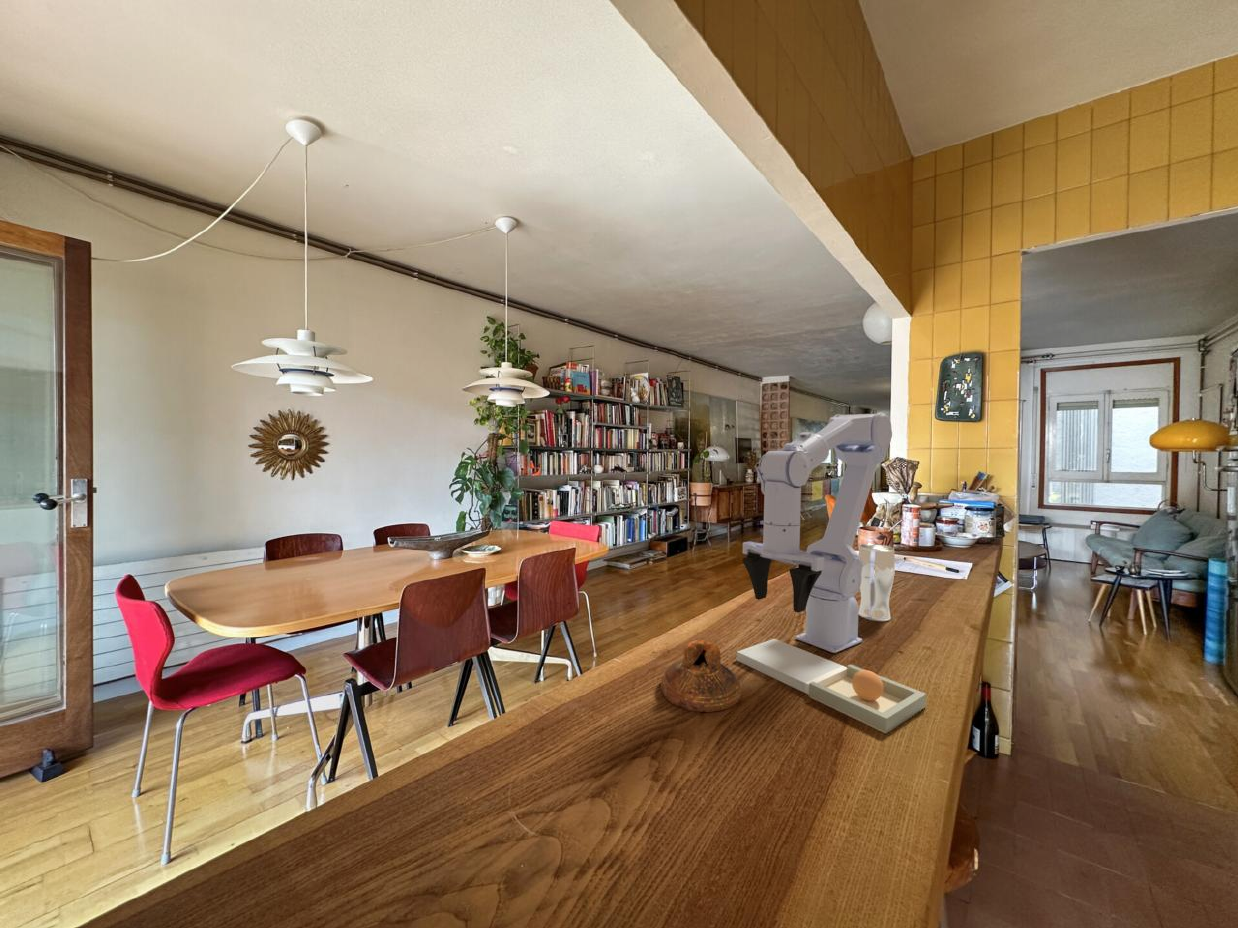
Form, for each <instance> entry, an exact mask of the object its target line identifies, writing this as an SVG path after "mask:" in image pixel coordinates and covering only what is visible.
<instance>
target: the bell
mask: <svg viewBox="0 0 1238 928" xmlns="http://www.w3.org/2000/svg"><path fill="white" fill-rule="evenodd" d="M721 654H722V653H721V651H720V648H719V647H718V646H717V644H714V643H713V642H710V641H708V640H704V639H697V640H696V639H695V640H693V641H690V642H688V643H687V645H686V646H685V648H684V649H683V659H679V660H677V661H675V662H673V664H671V665H670V666H669V667H668V668H666V670H665V672H664V673H663V674H662V677H661V684H660V690H661V692H662V694H663V696H664V697H665V698H666V699H667V701H669V702H670V703H671V704H672V705H674V706H677V707H682V708H683V709H685V710H687V711H691V712H699V713H700V712H702V713H704V712H705V713H712V712H720V711H723V710H727V709H729V708H731V707H733V706H735V705H736V704H737V703H738V702H739V700H740V698H741V696H742V687H741V684H740V681H739V679H738V678H737V676H736V674H735V673H734V672H733V671H732V670H731V669H729V668H728V667H727V666H726V665H724V664H722V663H721V658H722V656H721Z"/></svg>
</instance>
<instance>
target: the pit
mask: <svg viewBox="0 0 1238 928" xmlns="http://www.w3.org/2000/svg"><path fill="white" fill-rule="evenodd" d="M846 667H847V677H845V678H843V679H841V680H838V681H836V682H834V683H832V684H830V685H828V686H826V687H824V686H822V685H820V684H818V683H816V682H811V683H809V695H808V697H809V698H811V699H812V700H814V701H816V702H818V703H821V704H823V705H825V706H827V707H829V708H831V709H832V710H836V712H837V711H838V712H839V713H842V714H843V715H846V716H848V717H850V718H852V719H854V720H856V721H857V722H858V721H859V722H860V723H862V724H865V725H866V726H868V727H870V728H873V729H875V730H877V731H879V732H881V733H883V734H885V735H887V734H889V732H892V731H893V730H894V729H896V728H897V727H899V726H900V725H902V724H903V723H905V722H906V721H908V720H910V719H911V718H912V716H913V717H914V716H916V715H917V714H919V713H920V712H922V711H923V710H925V709H926V708H927V704H926V703H927V693H926V692H923V691H921V690H918V689H914V688H912V687H909V686H907V685H906V684H905V685H904V684H902V683H899V682H897V681H894V680H892V679H889V678H888V677H884V676H881V675H879V674H877V675H878V676H879V678H880V679H881V681H882V683H883V693H882V695H881V696H880V697H879V698H878V699H876V700H873V701H868V700H864V699H862V698H861V697H859V696H858V695H857V694H856V693H855V691H854V689H853V686H852V679H853V677H854V675H855V674H856V673H857V672H859V671H861V670H865V668H864V669H863V668H861V667H860V666H859V667H858V666H856V665H853V664H852V663H851V664H848V665H846ZM924 708H925V709H924ZM922 709H923V710H922ZM921 710H922V711H921ZM919 711H920V712H919ZM918 712H919V713H918ZM915 714H916V715H915ZM909 718H910V719H909Z"/></svg>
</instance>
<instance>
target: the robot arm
mask: <svg viewBox="0 0 1238 928" xmlns="http://www.w3.org/2000/svg"><path fill="white" fill-rule="evenodd" d="M892 429H893V428H892V422H891V419H890V418H889V416H888V415H887V414H886V413H884V412H877V413H864V414H863V413H859V414H841V413H839V414H838V413H837V414H835V415H833V416H831V417H829V420H828V423H827V425H826V426H824V427H823V428H822V429H821V430H820V431H818V432H817V433H813V432H810V431H808V432H807V431H806V432H805V431H803V432H801V433H800V434H798V438H797V439H795V440H793V441H791V442H787V443H785V444H784V445H783V447H781V448H780V449H779V450H768V451H767V452H766V453H764V454H763V455H762V456H761V458H760V459H759V463H758V466H757V467H756V472H757V476H758V477H757V478H758V480H759V482H760V486H761V487H760V489H761V490H760V491H761V493H762V494H763V495H764V496H763V497H764V498H763V499H764V500H763V502H764V503H763V531H762V532H763V538H762V539H763V540H762V541H763V542H756V541H755V542H754V541H744V542H742V554H744V555H746V557H743V558H742V563H743V565H744V567H745V568H746V570H747V573H748V576H749V577H750V581H751V585H752V588H753V592H754V593H753V594H754V598H755V599H756V600H762V599H766V598H767V594H768V585H769V584H768V583H769V582H768V581H769V573H770V567H771V563H772V561H773V560H774V561H777V562H782V563H785V564H790V565H794V566H797V567H794V568H790V569H789V575H790V577H791V578H790V579H791V583H792V589H793V590H792V591H793V597H792V598H793V602H792V603H793V605H792V606H793V612H794V613H797V614H798V613H802V612H805V611H806V613H805V614H806V617H805V620H806V621H805V632H803V633H800V634H797V635H796V636H795V639H796V640H799V641H800V642H804V643H806V644H808V645H809V644H810V645H811V646H814V647H817V648H819V649H823V650H825V651H828V652H830V653H832V654H834V653H835V654H836V653H838V652H840V651H841V652H842V651H843V650H845V649H848V648H850V647H852V646H855V645H857V644H860V643H862V642H863V638H861V637H859V636H858V633H859V614H858V612H859V604H858V601H857V600H856V598H855V596H856V595H857V594H858V592H859V591H860V586H861V580H862V576H861V574H862V568H863V562H862V559H861V558H860V556H859V553H857V552H856V551H855V549H854V548H853V544H854V543H855V538H856V534H857V531H858V529H859V526H860V522H861V519H862V515H863V513H864V510H865V506H866V504H867V500H868V497H869V493H870V490H871V487H872V484H873V481H874V478H875V474H876V471H877V468H878V465H879V464H881V463H883V462H885V459H886V456H887V454H888V451H889V448H890V444H891V441H892V437H893V431H892ZM832 449H834V451H835V454H836V457H837V458H838V460H839V461H841V462H842V463H844V464H846V466H845V467H846V468H845V471H844V474H843V477H842V480H841V483H840V486H839V489H838V492H837V495H836V499H835V501H834V505H833V507H832V510H831V513H830V516H829V519H828V523H827V525H826V529H825V532H824V535H823V537H822V538H820V539H819V540H817V541H815V542H813V543H812V544H809V545H808V546H807V548H806V551H804V550H801V549H800V539H801V536H800V535H801V506H802V505H801V500H802V498H801V497H802V486H805V485H806V483H807V482H808V480H809V478H810V474H811V473H812V472H813V470H814V469H815V468H817V467H818V466H820V465H821V464H822V463H824V462H825V461H826V460H827V459H828V457H829V454H830V452H829V451H830V450H832Z"/></svg>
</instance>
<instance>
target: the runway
mask: <svg viewBox="0 0 1238 928" xmlns="http://www.w3.org/2000/svg"><path fill="white" fill-rule="evenodd" d="M736 661H737V662H739V663H741V664H743V665H746V666H748V667H749V668H752V669H754V670H756V671H758V672H760V673H762V674H764V675H766V676H769V677H771V678H772V679H775V680H777V681H779V682H781V683H783V684H785V685H787V686H790V687H791V688H794V689H796V690H797V691H800V692H801V693H804V694H806V695H808V696H809V683H811V682H816V683H818V684H820V685H822V686H824V687H826V686H828V685H830V684H832V683H834V682H836V681H838V680H841V679H843V678H845V677H847V666H844V665H842V664H839V663H837V662H834V661H832V660H829V659H826V658H825V657H822V656H819V655H817V654H814V653H811V652H810V651H807V650H804V649H801V648H799V647H796V646H794V645H792V644H789V643H787V642H784V641H781V640H779V639H777V638H772V639H769V640H766V641H764V642H761V643H757V644H755V645H752V646H750V647H746V648H743V649H740V650H738V651H736Z"/></svg>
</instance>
